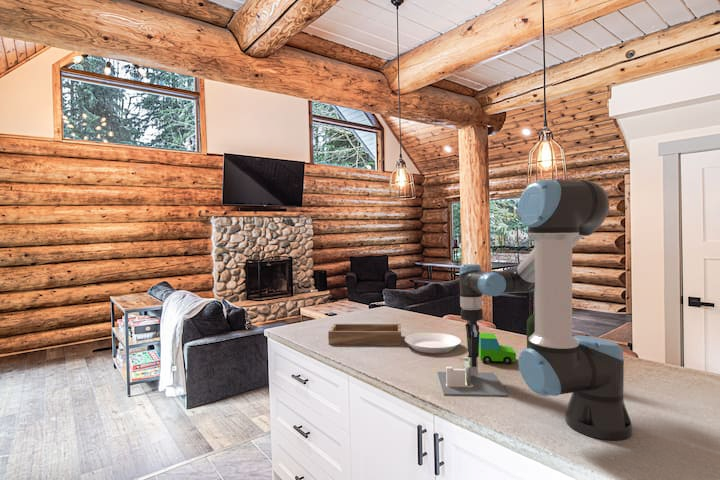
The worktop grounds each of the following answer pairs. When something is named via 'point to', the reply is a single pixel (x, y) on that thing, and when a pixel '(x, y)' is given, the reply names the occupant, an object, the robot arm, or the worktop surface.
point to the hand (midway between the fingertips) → (473, 374)
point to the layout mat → (475, 386)
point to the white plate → (432, 342)
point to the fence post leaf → (457, 376)
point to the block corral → (365, 334)
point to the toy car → (494, 349)
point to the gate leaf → (466, 364)
